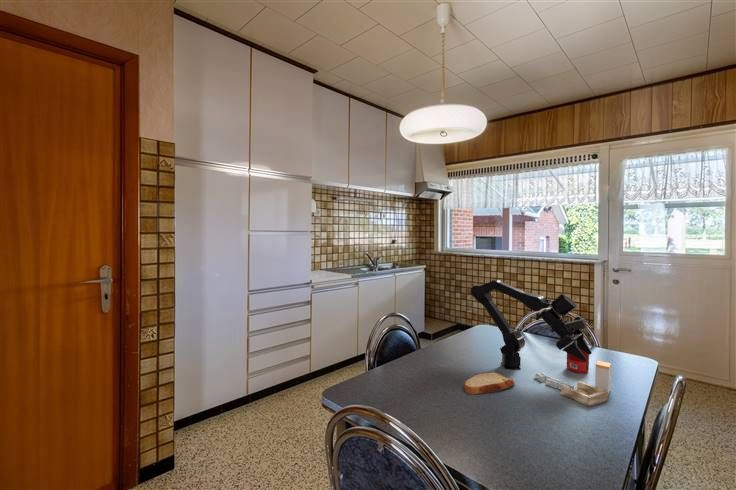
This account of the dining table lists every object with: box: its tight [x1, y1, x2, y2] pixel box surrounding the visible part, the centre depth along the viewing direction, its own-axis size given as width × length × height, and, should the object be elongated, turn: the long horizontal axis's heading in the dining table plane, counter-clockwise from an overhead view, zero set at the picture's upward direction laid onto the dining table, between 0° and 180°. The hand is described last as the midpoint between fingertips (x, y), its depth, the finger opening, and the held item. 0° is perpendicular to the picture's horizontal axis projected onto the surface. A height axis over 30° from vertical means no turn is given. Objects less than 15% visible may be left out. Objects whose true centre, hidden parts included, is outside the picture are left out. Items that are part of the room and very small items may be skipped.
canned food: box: [566, 344, 590, 374], centre depth 145 cm, size 8×8×11 cm
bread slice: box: [463, 372, 516, 395], centre depth 129 cm, size 18×18×4 cm
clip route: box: [534, 371, 575, 391], centre depth 131 cm, size 6×14×2 cm, turn 21°
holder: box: [559, 380, 609, 408], centre depth 121 cm, size 10×10×3 cm
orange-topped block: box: [594, 360, 612, 395], centre depth 126 cm, size 4×5×10 cm
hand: (588, 357), depth 129 cm, fingers open, 9 cm apart
